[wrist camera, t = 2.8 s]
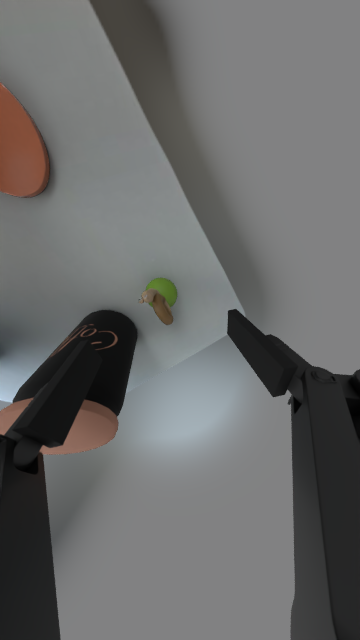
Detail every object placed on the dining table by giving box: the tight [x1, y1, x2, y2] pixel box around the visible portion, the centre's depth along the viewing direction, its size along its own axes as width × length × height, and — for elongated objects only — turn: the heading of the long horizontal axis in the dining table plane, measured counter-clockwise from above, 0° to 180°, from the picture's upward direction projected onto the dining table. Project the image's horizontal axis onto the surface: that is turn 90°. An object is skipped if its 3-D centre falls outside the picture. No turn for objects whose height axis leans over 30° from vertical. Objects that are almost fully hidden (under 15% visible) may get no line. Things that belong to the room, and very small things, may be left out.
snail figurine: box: [139, 278, 177, 325], centre depth 20 cm, size 5×6×12 cm
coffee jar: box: [0, 310, 137, 455], centre depth 21 cm, size 11×11×18 cm
